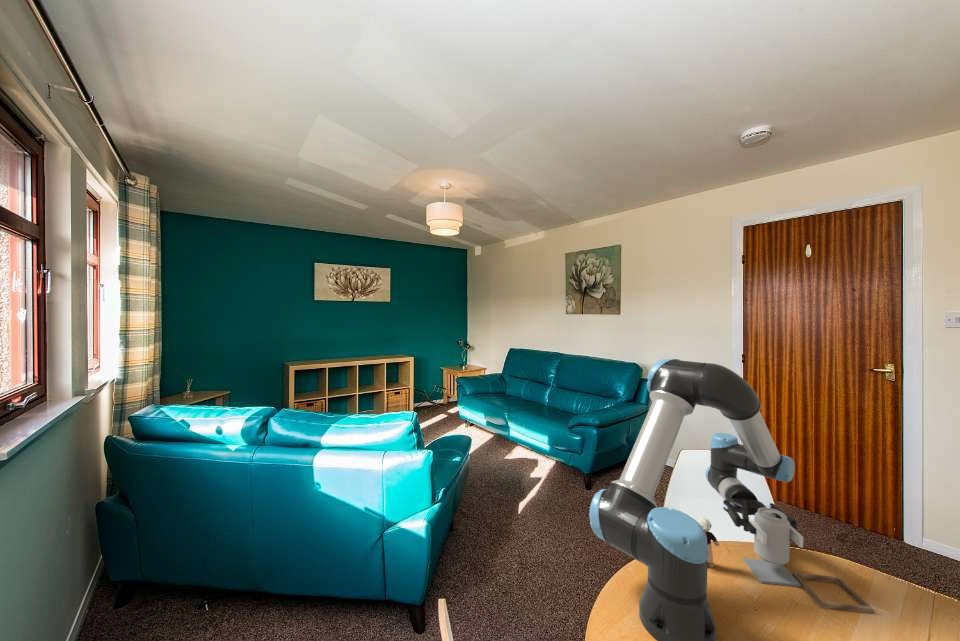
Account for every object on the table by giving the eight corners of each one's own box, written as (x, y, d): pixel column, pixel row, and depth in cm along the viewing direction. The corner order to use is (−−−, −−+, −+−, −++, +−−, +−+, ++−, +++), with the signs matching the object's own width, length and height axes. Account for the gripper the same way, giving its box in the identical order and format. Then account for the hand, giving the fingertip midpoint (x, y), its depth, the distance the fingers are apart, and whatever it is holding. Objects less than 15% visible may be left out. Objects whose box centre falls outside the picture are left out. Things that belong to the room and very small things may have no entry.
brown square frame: (821, 607, 90) (821, 603, 90) (792, 576, 101) (792, 572, 101) (873, 613, 89) (873, 609, 89) (838, 580, 99) (838, 576, 99)
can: (796, 568, 98) (797, 522, 97) (762, 565, 99) (763, 519, 99) (779, 550, 105) (780, 506, 105) (748, 547, 107) (749, 504, 106)
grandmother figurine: (708, 557, 109) (709, 512, 108) (720, 566, 105) (721, 520, 104) (686, 562, 106) (686, 517, 106) (697, 571, 103) (698, 524, 102)
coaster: (761, 583, 98) (761, 580, 98) (743, 560, 107) (743, 557, 107) (801, 586, 97) (801, 584, 97) (779, 563, 106) (779, 561, 106)
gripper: (774, 510, 118) (828, 559, 96) (702, 505, 121) (738, 551, 99) (774, 486, 118) (829, 529, 95) (702, 482, 121) (738, 523, 98)
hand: (783, 540), depth 97 cm, fingers closed on can, 7 cm apart
